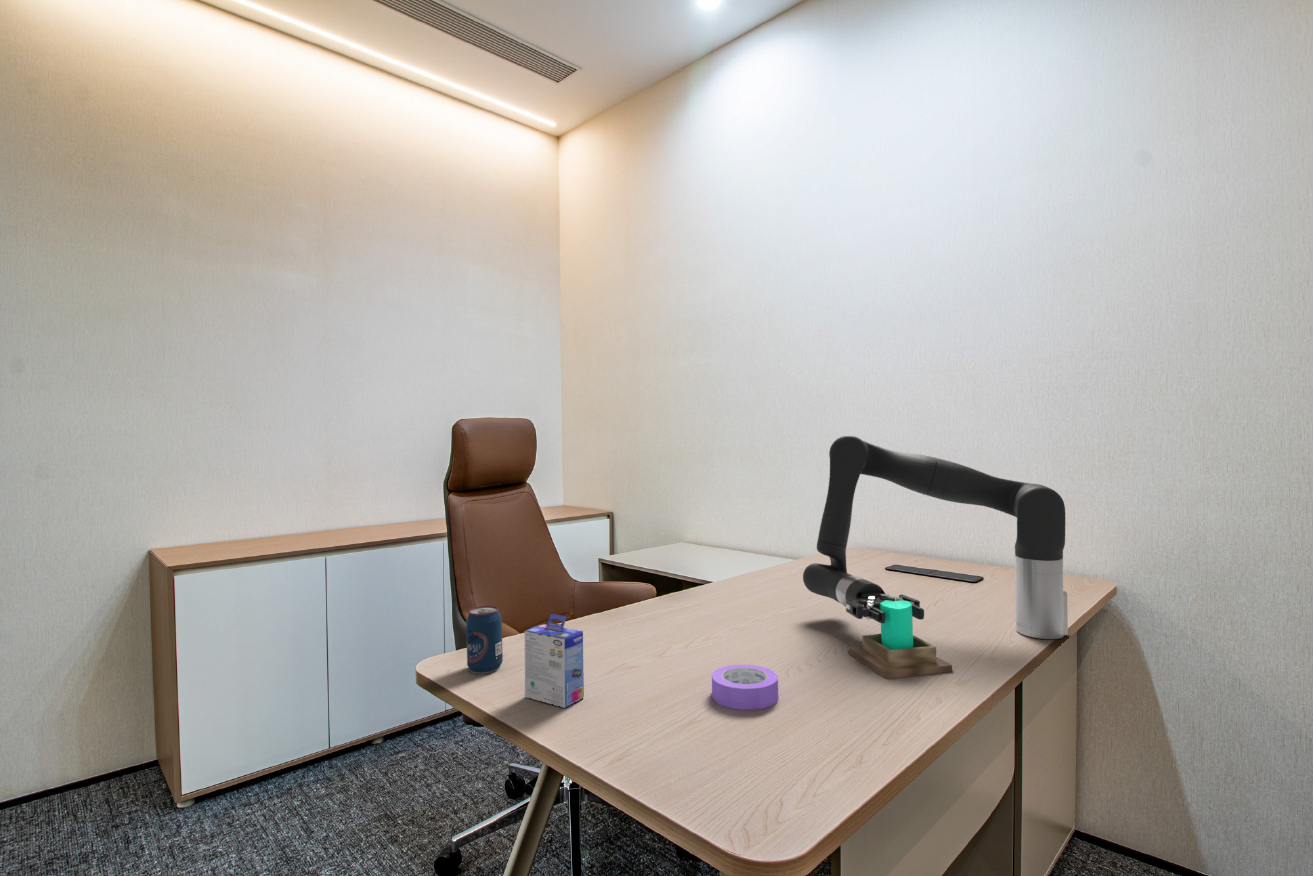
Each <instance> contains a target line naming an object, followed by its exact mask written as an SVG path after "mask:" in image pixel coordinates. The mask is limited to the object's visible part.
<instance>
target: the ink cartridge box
mask: <svg viewBox="0 0 1313 876" xmlns="http://www.w3.org/2000/svg"><path fill="white" fill-rule="evenodd" d="M566 619H567V616H564V615H560V614H554V613H551V614H550V616H549V619H548V621H547V624H538V625H536V626H533V627H531V628H528V629H527V630H525V631H524V697H525V698H527V699H530V698H531V699H530V700H535V701H538V702H541V701H542V702H541V703H545V702H546V704H550V705H552V704H553V706H557V707H559V706H560V707H559V708H564V709H566V708H567V707H569V706H571V704H572V705H574V704H575V703H574V702H576V703H577V701H578V700H580V699H581V698H583V697H584V698H585V684H584V683H585V679H584V675H585V674H584V631H583V630H579V629H575V628H568V627H565V623H566V621H567V620H566ZM553 620H559V621H561V623H560V624H559V623H555V622H552V621H553ZM580 701H581V700H580ZM578 702H579V701H578ZM573 703H574V704H573Z"/></svg>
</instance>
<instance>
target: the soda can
mask: <svg viewBox="0 0 1313 876" xmlns="http://www.w3.org/2000/svg"><path fill="white" fill-rule="evenodd" d="M502 620H503V619H502V615H501V613H500V612H499V607H497V606H496V605H495V606H494V605H482V606H475V607H473V608H471V609H469V610H468V615H467V617H466V620H465V623H466V624H465V625H466V626H465V627H466V629H465V631H466V632H465V633H466V662H467V663H466V665H467V667H468V669H469V670H470V672H471V671H472V672H471V673H473V674H476V673H479V674H478V675H485V674H484V673H487V674H491V673H494V672H497V671H498V670H499V669H500V667H501V665H502V663H503V661H504V659H503V658H504V657H503V630H502V629H503V626H502V625H503V623H502ZM497 669H498V670H497ZM493 671H494V672H493ZM480 673H481V674H480ZM482 673H483V674H482Z"/></svg>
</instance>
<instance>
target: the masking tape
mask: <svg viewBox="0 0 1313 876" xmlns="http://www.w3.org/2000/svg"><path fill="white" fill-rule="evenodd" d="M778 677H779V676H778V674H777V673H776V672H775V671H774V670H772V669H771V668H767V667H765V666H761V665H756V664H746V663H745V664H742V663H741V664H740V663H739V664H732V665H731V664H730V665H726V666H721V667H719V668H717V669H716V670H714V671H713V672H712V673H711V697H712V699H713V700H714V702H716V703H717V704H718V705H720V706H723V707H725V708H728V709H733V710H738V711H756V710H761V709H762V710H764V709H767V708H770V707H772V706H774V705H775V704H776V703H777V702H778V700H779V678H778Z"/></svg>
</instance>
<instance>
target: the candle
mask: <svg viewBox="0 0 1313 876" xmlns="http://www.w3.org/2000/svg"><path fill="white" fill-rule="evenodd" d="M894 597H895V601H889V600H886V601H884V602H882V603H880V610H881V611H883V612H884V613H885V623H880V634H881V640H882V645H883V646H885V647H887V648H888V649H890V650H898V649H907V648H913V635H914V628H913V627H914V626H913V616H912V604H911V603H910V602H908V601H903V600H900V601H896V597H897V596H896V595H895V596H894Z"/></svg>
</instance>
